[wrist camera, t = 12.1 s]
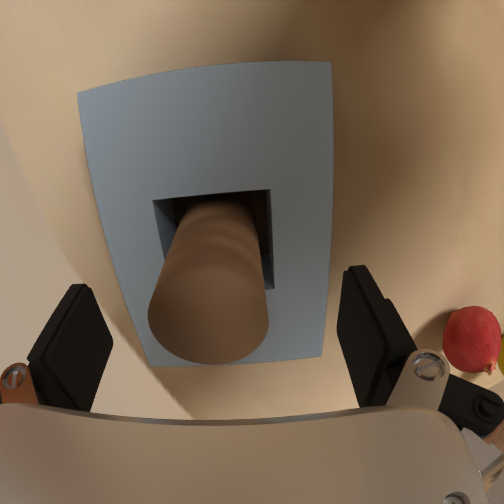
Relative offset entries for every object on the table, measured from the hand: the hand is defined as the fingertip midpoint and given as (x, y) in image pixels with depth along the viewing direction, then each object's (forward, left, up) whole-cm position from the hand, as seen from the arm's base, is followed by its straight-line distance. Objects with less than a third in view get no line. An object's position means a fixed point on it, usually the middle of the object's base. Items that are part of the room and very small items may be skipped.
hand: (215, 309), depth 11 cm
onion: (-20, +12, -10) cm, 25 cm away
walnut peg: (0, +1, -10) cm, 10 cm away
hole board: (0, +1, -10) cm, 10 cm away
